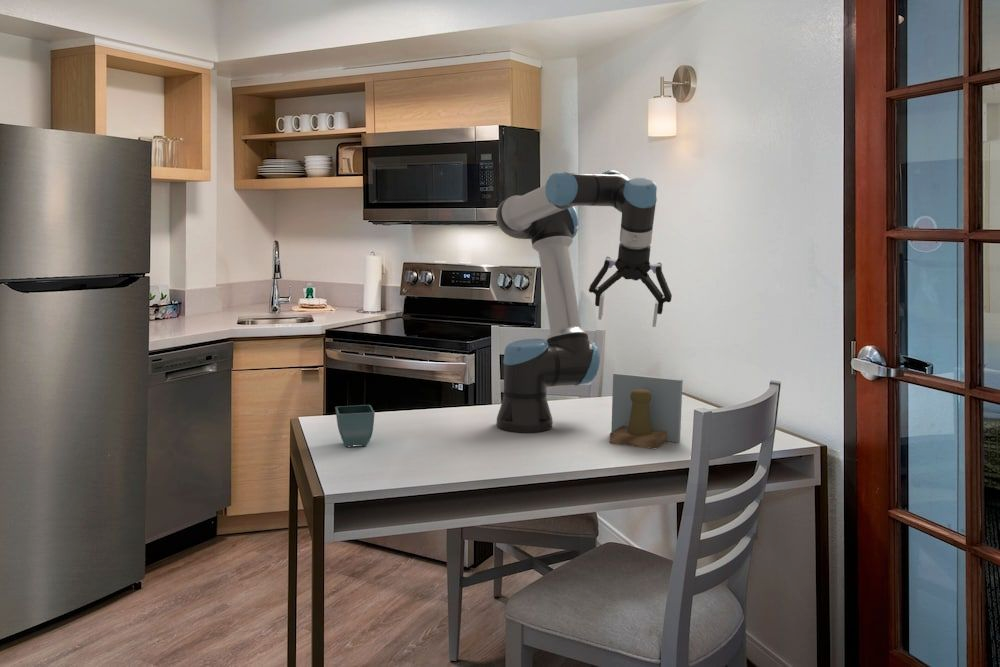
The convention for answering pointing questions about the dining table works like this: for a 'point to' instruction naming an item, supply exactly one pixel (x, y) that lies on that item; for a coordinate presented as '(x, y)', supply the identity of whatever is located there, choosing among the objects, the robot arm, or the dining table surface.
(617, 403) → the back board
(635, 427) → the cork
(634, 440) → the brown flat block
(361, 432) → the flower pot
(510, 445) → the dining table surface
